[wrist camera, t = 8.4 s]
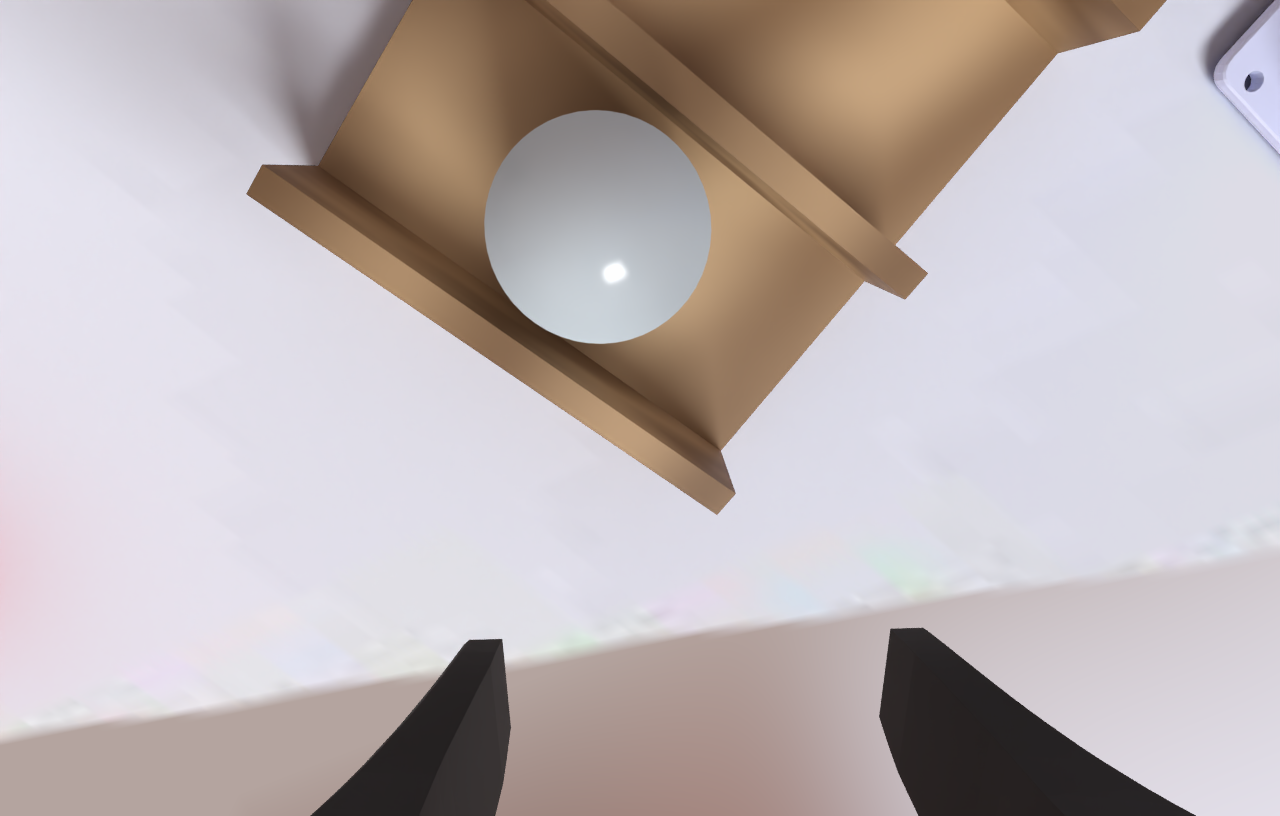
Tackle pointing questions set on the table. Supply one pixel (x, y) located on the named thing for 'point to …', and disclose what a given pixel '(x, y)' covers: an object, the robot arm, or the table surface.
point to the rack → (719, 151)
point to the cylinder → (597, 226)
